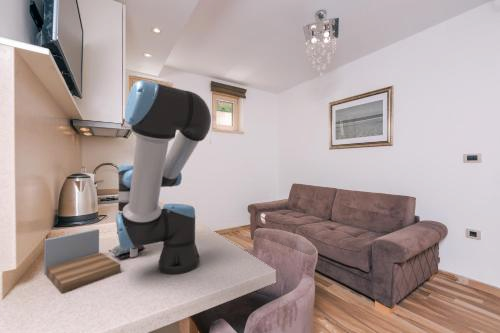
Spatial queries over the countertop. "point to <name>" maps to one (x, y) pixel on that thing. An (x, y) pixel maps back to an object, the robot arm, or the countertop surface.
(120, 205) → the robot arm
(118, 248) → the packaged food
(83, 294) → the countertop surface
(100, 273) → the plinth
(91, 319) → the countertop surface
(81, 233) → the backboard
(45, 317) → the countertop surface
